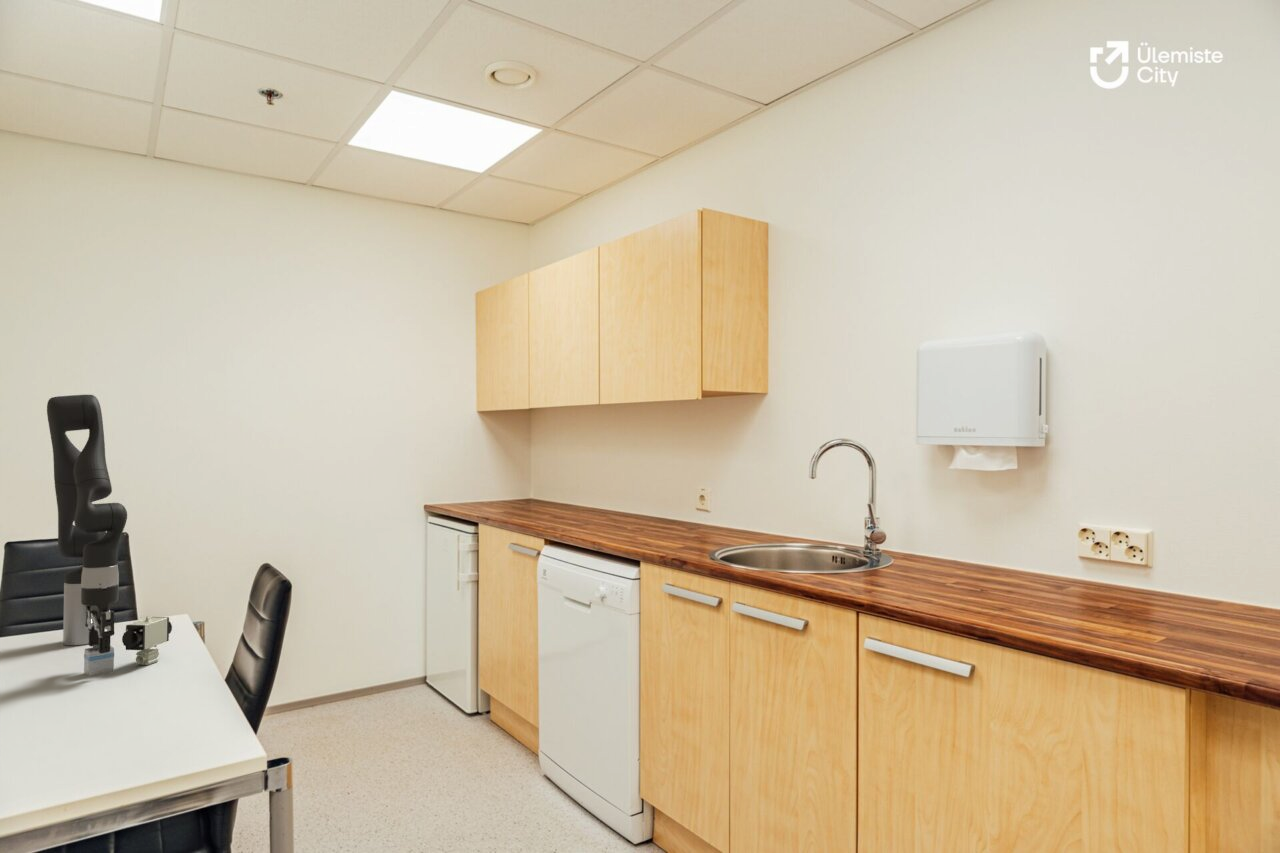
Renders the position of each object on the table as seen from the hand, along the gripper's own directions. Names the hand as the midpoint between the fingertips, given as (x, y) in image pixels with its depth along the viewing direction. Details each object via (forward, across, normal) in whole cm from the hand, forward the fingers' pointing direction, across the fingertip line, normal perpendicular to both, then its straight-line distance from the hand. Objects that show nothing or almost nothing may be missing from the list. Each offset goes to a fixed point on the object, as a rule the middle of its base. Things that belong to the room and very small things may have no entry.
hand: (99, 649), depth 182 cm
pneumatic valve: (+6, 0, +10) cm, 12 cm away
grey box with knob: (+6, 0, 0) cm, 6 cm away
